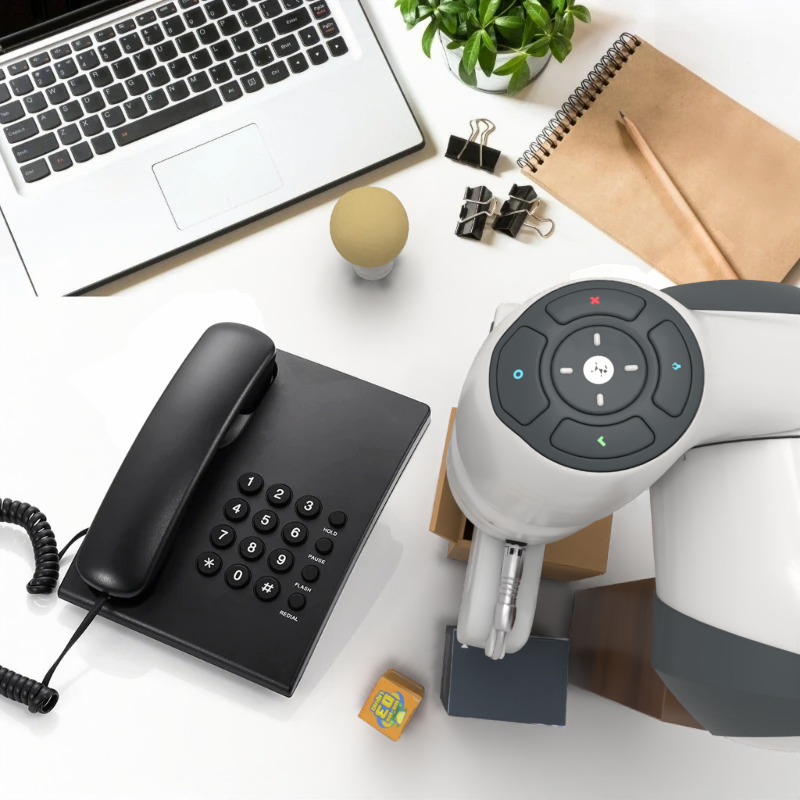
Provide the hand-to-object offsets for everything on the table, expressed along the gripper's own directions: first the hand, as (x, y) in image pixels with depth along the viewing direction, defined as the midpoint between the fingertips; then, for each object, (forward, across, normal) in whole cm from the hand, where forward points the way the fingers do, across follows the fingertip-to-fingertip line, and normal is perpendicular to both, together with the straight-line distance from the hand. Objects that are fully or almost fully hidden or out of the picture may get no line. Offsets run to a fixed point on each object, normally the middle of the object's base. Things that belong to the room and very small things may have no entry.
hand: (501, 497), depth 56 cm
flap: (-5, 0, +3) cm, 6 cm away
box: (+10, -12, -2) cm, 15 cm away
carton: (+10, 0, -2) cm, 10 cm away
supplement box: (+10, -15, +5) cm, 19 cm away
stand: (+10, -8, -11) cm, 17 cm away
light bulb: (+10, +20, +14) cm, 26 cm away
